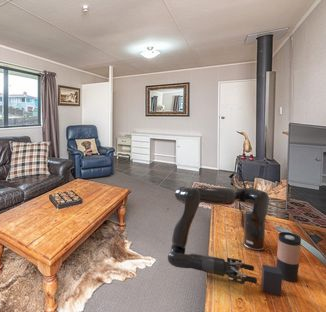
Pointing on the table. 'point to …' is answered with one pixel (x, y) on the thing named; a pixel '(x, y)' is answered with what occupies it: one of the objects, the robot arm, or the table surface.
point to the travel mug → (288, 255)
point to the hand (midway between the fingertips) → (255, 274)
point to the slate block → (271, 280)
